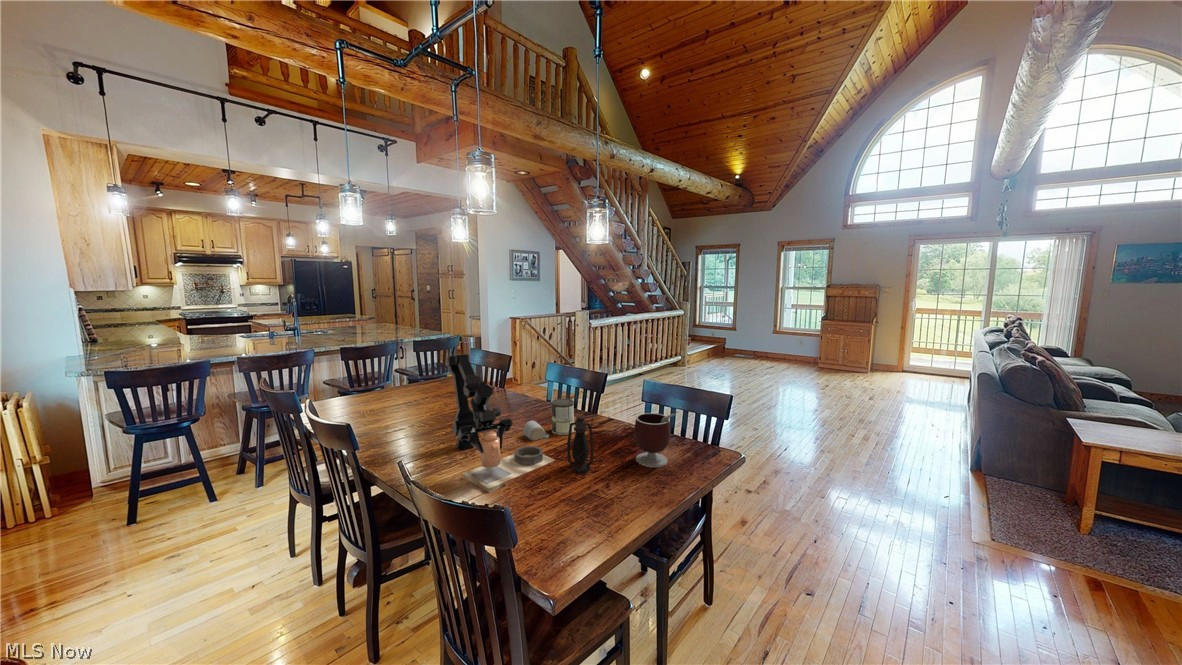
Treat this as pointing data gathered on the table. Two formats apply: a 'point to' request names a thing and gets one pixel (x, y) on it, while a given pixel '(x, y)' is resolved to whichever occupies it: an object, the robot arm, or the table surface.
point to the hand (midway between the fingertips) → (491, 450)
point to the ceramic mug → (534, 431)
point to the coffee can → (562, 416)
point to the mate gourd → (652, 438)
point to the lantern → (580, 444)
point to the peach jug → (490, 450)
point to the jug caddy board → (508, 468)
